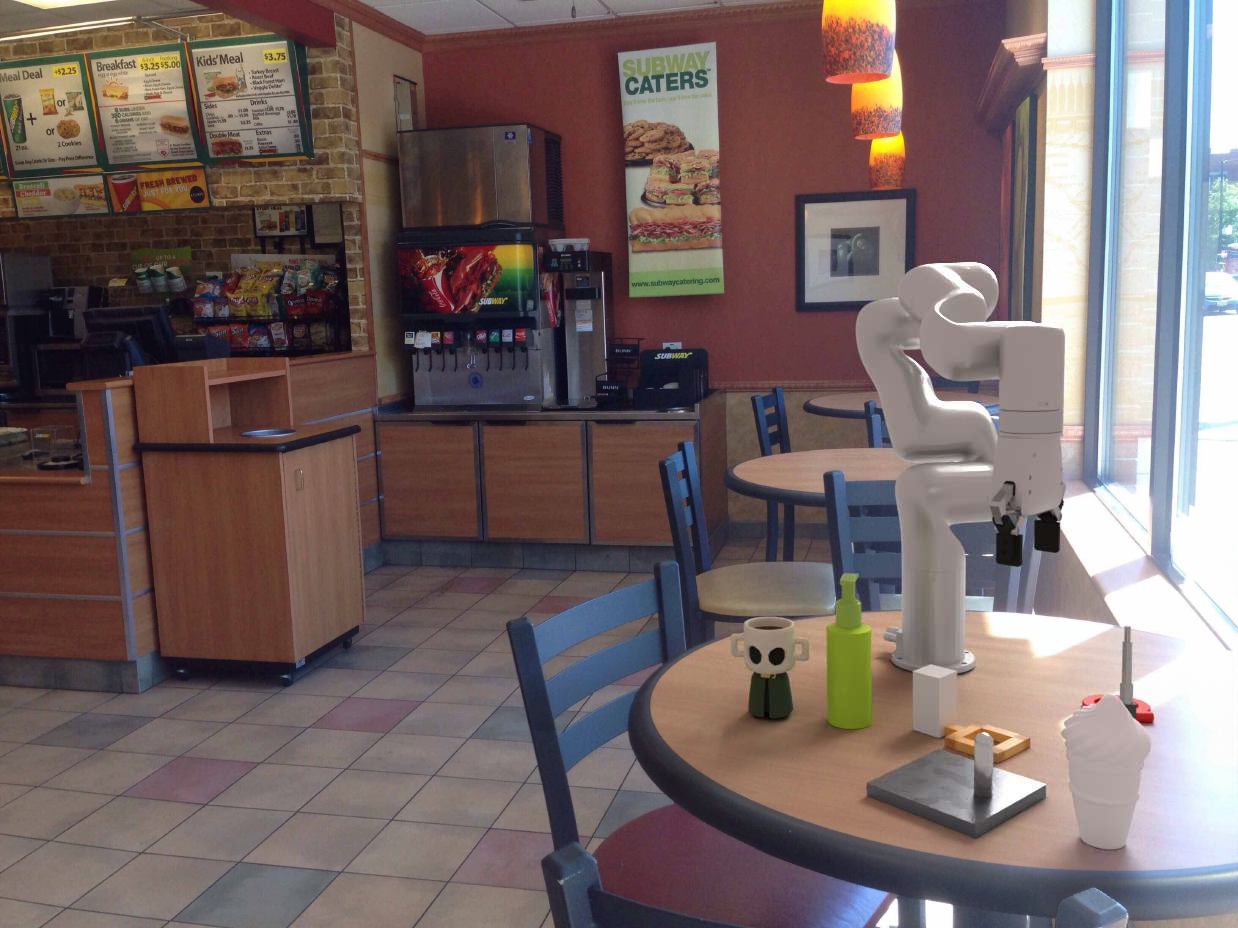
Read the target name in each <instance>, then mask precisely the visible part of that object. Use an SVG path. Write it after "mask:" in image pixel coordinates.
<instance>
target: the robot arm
mask: <svg viewBox="0 0 1238 928" xmlns="http://www.w3.org/2000/svg"><path fill="white" fill-rule="evenodd" d="M996 277H997V276H996V275H995V273H994V272H993V271H992V270H991V268H989V267H988V266H986V265H985V264H982V263H978V262H956V263H955V262H952V263H951V262H950V263H928V264H922V265H918V266H916V267H914V268H911V269H909V271H907V272H906V273H905V274H904V275H903V276H902V278H901V279H900V282H899V283H898V287H897V297H888V298H883V299H878V300H874V301H871V302H869V303H867V304H865V305H864V306H863V307H862V309H860V311H859V313H858V315H857V318H856V322H855V339H856V346H857V350H858V351H857V352H858V353H859V357H860V360H861V363H862V364H863V366H864V368H865V371H866V372H867V374H868V376H869V377H870V379H871V381H872V383H873V385H874V387H875V389H876V391H877V394H878V396H879V401H880V405H881V409H882V412H883V416H884V421H885V425H886V428H887V433H888V435H889V440H890V443H891V446H892V448H893V451H894V453H895V455H896V456H897V457H898V459H900V460H902V461H903V462H906V463H914V465H910V466H909V467H907V468H905V469H904V470H902V471H901V472H900V473H899V475H898V476H897V479H896V481H895V485H894V495H895V496H894V497H895V502H896V507H897V509H896V510H897V513H898V519H899V528H900V539H901V627H898V626H893V625H888V626H887V628H886V629H885V632H884V634H883V640H884V641H886V642H891V643H895V645H896V646H895V649H894V650H892V652H891V661H892V663H893V664H895V666H896V667H898V668H901V669H903V670H906V671H909V672H912V673H913V671H915V670H917V669H920V668H923V667H925V666H928V665H930V664H932V665H936V666H939V667H943V668H947V669H951V670H955V671H957V674H961V673H965V672H969V671H970V670H972V669H973V668H975V666H976V661H977V660H976V656H975V655H974V654H973V653H972V652H971V651H969V650H967V649H966V567H967V566H966V562H967V560H966V553H965V549H964V546H963V545H962V543H961V542H960V540H959V539H958V538H957V537H956V536H955V534H954V533H953V532H952V529H951V528H950V526H952V525H958V524H966V523H968V524H969V523H985V522H992V523H993V525H994V527H993V530H994V533H995V537H996V538H995V540H996V541H995V549H996V550H995V563H997V565H1003V566H1008V567H1009V566H1010V567H1016V568H1019V567H1021V566H1022V565H1023V554H1024V553H1023V545H1024V544H1023V542H1024V534H1021V533H1020V532H1021V530H1022V527H1023V524H1024V521H1025V519H1026V518H1030V517H1034V516H1037V517H1036V518H1037V519H1034V526H1033V528H1034V529H1033V530H1034V531H1033V535H1034V537H1033V538H1034V539H1033V547H1034V551H1039V552H1046V553H1053V554H1056V553H1059V552H1060V550H1061V548H1060V547H1061V546H1060V545H1061V544H1060V543H1061V541H1060V540H1061V521H1062V519H1063V513H1062V508H1063V507H1064V506H1065V505H1064V503H1065V501H1064V497H1065V493H1066V489H1067V485H1066V483H1065V482H1064V481H1063V456H1062V455H1063V454H1062V443H1061V437H1062V436H1064V407H1065V405H1064V404H1065V403H1064V402H1065V401H1064V400H1065V365H1066V364H1065V358H1066V355H1065V353H1066V335H1065V334H1066V333H1065V332H1064V329H1063V327H1061V326H1060V325H1059V324H1056V323H1050V322H1049V323H1042V322H1039V323H1037V322H1036V323H1035V322H1032V321H1025V320H1024V321H1020V320H1019V321H988V322H987V319H988V318H989V317H990V316H991V315H992V313H993V312H994V310H995V308H996V305H997V304H998V301H999V295H1000V294H999V293H1000V291H999V290H1000V289H999V282H998V279H997V278H996ZM905 350H908V351H909V350H920V351H921V355H922V357H923V359H924V361H925V363H927V365H928V367H929V366H930V368H931V369H932V370H933V371H935V372H936V373H937V374H938V375H940V376H941V377H943V378H944V379H946V380H950V381H955V382H973V381H974V382H975V381H990V380H994V381H995V380H999V381H998V382H999V383H998V432H997V427H996V426H995V423H994V420H993V418H992V416H991V414H990V413H989V411H988V410H987V409H986V408H985V407H984V406H983V405H981V404H980V403H977V402H975V401H968V400H962V401H961V400H960V401H958V400H957V401H942V400H939V398H937V395H936V393H935V390H934V387H933V386H934V385H933V383H932V380H931V377H930V376H929V374H928V373H927V372H926V371H925V369H924V368H923V367H922V366H921V365H920V364H919V363H917V361H915V360H914V359H913V358H911V357H910V356H908V355H907V354H906V353H905V352H904V351H905ZM917 463H919V464H917ZM1011 518H1012V519H1013V518H1014V521H1013V520H1012V519H1011Z"/></svg>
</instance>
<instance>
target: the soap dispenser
mask: <svg viewBox="0 0 1238 928" xmlns="http://www.w3.org/2000/svg"><path fill="white" fill-rule="evenodd" d="M859 577H860V576H859V573H848V572H847V573H845V572H844V573H842V575H841V577H840V579H839V585H840V586H841V598H839V599H837V600H836V601H835V622H833V623H829V624H828V625H826V628H825V629H826V635H825V636H826V697H827V698H826V699H827V700H826V701H827V702H826V705H827V708H826V709H827V715H826V716H827V722H828V723H829V724H830V725H832V726H833V727H836V728H840V729H846V730H858V729H864V728H867V727H869V726H870V725H872V721H873V718H872V716H873V715H872V713H873V711H872V709H873V707H872V706H873V701H872V697H873V696H872V690H873V689H872V679H873V678H872V627H871V626H870V625H868V624H866V623H862V622H863V621H862V619H863V618H862V602H861V601H860V600H858V599H857V598H856V588H855V587H856V581H857V579H858V578H859Z"/></svg>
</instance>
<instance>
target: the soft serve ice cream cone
mask: <svg viewBox="0 0 1238 928" xmlns="http://www.w3.org/2000/svg"><path fill="white" fill-rule="evenodd" d="M1115 695H1116V694H1113V693H1110V692H1106V693H1105V695H1104V696H1103V697H1102V698H1101V699H1100V701H1099V702H1098V703H1096V704H1090V705H1089V706H1083V705H1082V707H1081V709H1077V710H1075V711H1074V712H1073V713H1072V716H1070V717H1068V718H1067V719H1065V720H1064V722H1063V725H1064V727H1065V728H1063V729H1061V732H1060V735H1061V737H1062V738H1063V739H1064V746H1065V747H1066V753H1065V757H1066V759H1067V761H1068V773H1069V774H1068V775H1069V781H1068V788H1069V792H1071V798H1072V802H1073V809H1074V813H1075V816H1076V822H1077V828H1078V834H1079V837H1080V839H1081V841H1082V842H1084V844H1087V845H1089V846H1090V847H1094V848H1097V849H1100V850H1119V849H1122V848H1123V847H1124V846H1125V845H1126V843H1127V839H1128V835H1129V831H1130V828H1131V824H1132V819H1133V816H1134V812H1135V808H1136V804H1137V801H1139V799H1140V796H1141V793H1140V784H1141V777H1142V770H1143V769H1144V767H1145V760H1146V758H1148V756H1149V754H1150V751H1151V746H1152V741H1151V738H1150V735H1149V733H1148V731H1147V729H1146V728H1145V727H1144V726H1143V725H1142V724H1141V722H1138V721H1137V720H1135V719H1134V718H1133V717H1132V715H1131V714H1130V712H1129V711H1128V709H1127V708H1126V707H1125V705H1124V704H1123V702H1122V701H1121V700H1120V699H1119V698H1118V697H1117V696H1115Z"/></svg>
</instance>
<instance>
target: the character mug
mask: <svg viewBox="0 0 1238 928" xmlns="http://www.w3.org/2000/svg"><path fill="white" fill-rule="evenodd" d="M738 641H739V642H740V641H741V642H743V649H742V650H741V649H740V650H739V648H738V647H739V646H738ZM796 645H801V653H796ZM730 652H731V653H730V654H731V656H733V657H737V658H743V659H744V660H743V661H744V665H745V667H746V668H747V669H748V670H749V671H752V674H751V677H750V685H749V692H748V693H749V694H748V706H747V707H748V713H749V714H751V715H752V716H755V717H759V718H764V717H765V716H764V714H765V713H769V718H770V719H778V718H783V717H787V716H790V715H791V713H792V712H793V711H794V704H793V696H792V689H791V683H790V677H789V674H788V673H787V672H790V671H791V670H793V668H794V667H795V665H796V661H798V662H806V661H809V660H810V642H809V638H807V637H803V636H802V637H800V636H796V625H795V621H793V620H792V619H788V618H785V617H782V616H781V617H779V616H778V617H777V616H760V617H758V616H757V617H753V618H750V619H747V620H745V621H744V622H743V633H732V634H731V635H730Z"/></svg>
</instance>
